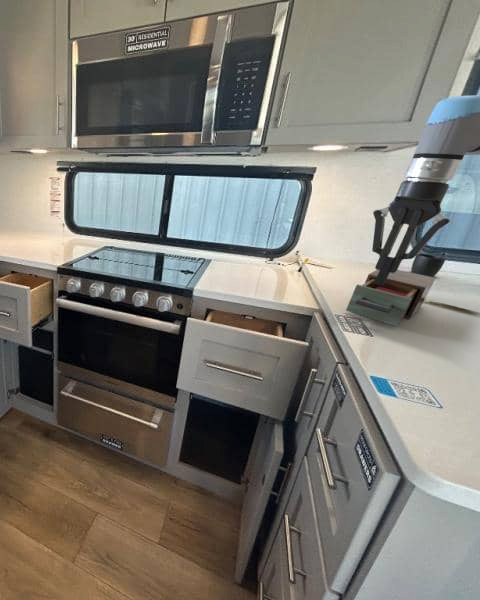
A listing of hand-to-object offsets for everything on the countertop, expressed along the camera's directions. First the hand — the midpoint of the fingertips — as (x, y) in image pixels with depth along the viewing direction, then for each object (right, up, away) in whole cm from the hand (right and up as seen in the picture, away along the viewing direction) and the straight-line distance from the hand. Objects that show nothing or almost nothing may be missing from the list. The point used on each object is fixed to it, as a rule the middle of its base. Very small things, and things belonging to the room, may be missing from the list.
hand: (379, 283), depth 80 cm
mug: (+65, +5, +53) cm, 84 cm away
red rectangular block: (+13, -7, +13) cm, 20 cm away
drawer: (+10, -8, +13) cm, 18 cm away
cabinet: (+24, -6, +23) cm, 33 cm away
